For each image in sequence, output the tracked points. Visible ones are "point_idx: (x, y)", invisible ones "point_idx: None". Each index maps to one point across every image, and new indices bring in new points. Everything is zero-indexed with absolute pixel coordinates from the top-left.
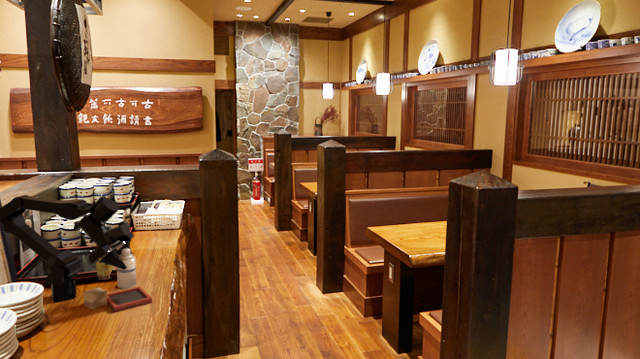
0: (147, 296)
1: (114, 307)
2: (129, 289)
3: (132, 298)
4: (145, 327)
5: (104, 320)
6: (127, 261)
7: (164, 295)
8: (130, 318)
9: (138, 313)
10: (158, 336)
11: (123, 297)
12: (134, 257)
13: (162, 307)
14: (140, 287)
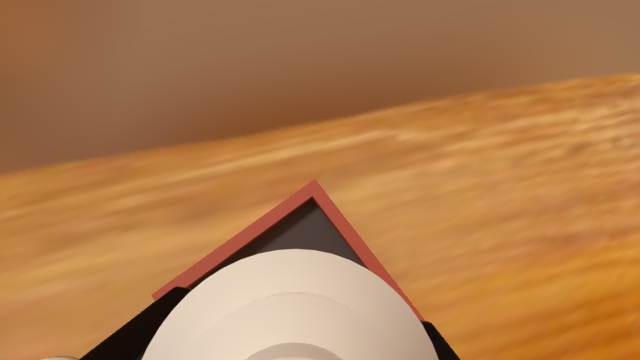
0: (300, 204)
1: None
2: None
3: None
4: (529, 148)
5: (503, 344)
6: (419, 329)
7: (231, 152)
8: (469, 230)
9: (421, 212)
10: (577, 89)
11: None
12: (245, 275)
13: (359, 130)
14: (168, 285)
